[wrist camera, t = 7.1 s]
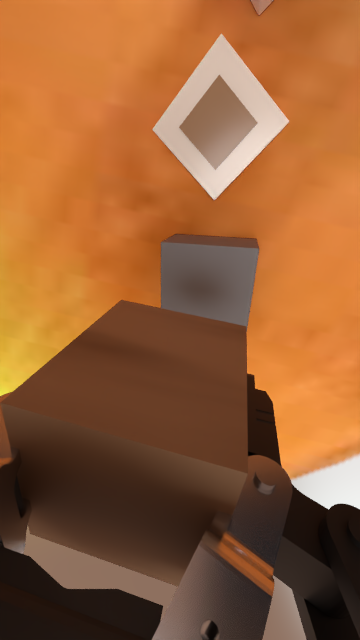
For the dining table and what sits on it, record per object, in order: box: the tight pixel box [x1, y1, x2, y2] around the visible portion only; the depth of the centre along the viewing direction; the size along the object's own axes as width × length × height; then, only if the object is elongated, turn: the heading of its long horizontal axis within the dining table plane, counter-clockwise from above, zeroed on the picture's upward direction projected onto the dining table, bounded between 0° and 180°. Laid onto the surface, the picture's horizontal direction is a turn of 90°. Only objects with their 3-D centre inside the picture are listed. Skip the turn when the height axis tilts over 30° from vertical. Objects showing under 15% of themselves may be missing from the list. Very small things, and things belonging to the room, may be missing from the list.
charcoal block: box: [161, 234, 259, 332], centre depth 23 cm, size 7×7×5 cm
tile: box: [152, 34, 289, 200], centre depth 20 cm, size 7×7×1 cm
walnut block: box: [0, 300, 248, 586], centre depth 9 cm, size 5×5×6 cm
